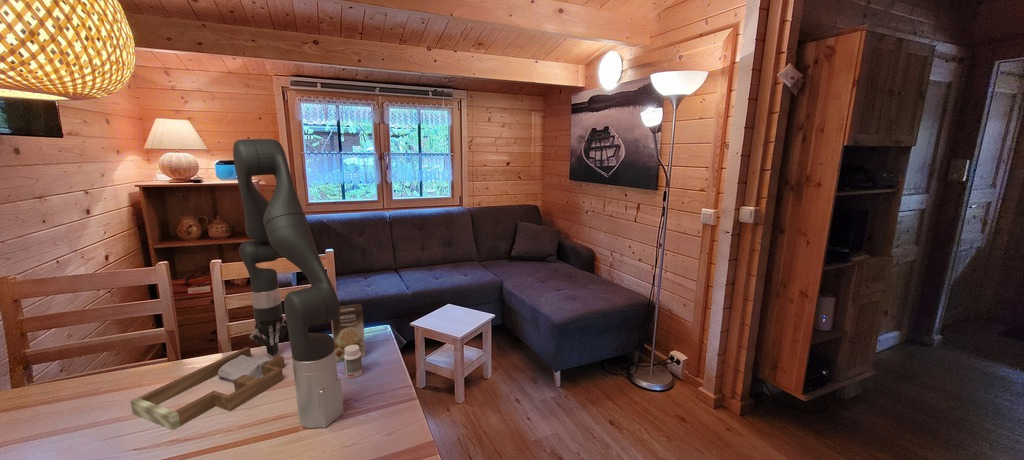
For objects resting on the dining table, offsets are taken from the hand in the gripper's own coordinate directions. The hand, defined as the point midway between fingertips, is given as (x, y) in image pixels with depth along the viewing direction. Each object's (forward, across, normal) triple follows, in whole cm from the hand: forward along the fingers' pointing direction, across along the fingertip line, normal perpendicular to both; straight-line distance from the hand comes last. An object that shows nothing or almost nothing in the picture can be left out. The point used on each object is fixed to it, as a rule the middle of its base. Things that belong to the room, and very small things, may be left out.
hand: (273, 354), depth 124 cm
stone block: (+2, -10, 0) cm, 10 cm away
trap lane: (+1, -17, -3) cm, 18 cm away
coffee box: (+2, +10, -21) cm, 23 cm away
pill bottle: (+2, +2, -30) cm, 30 cm away
